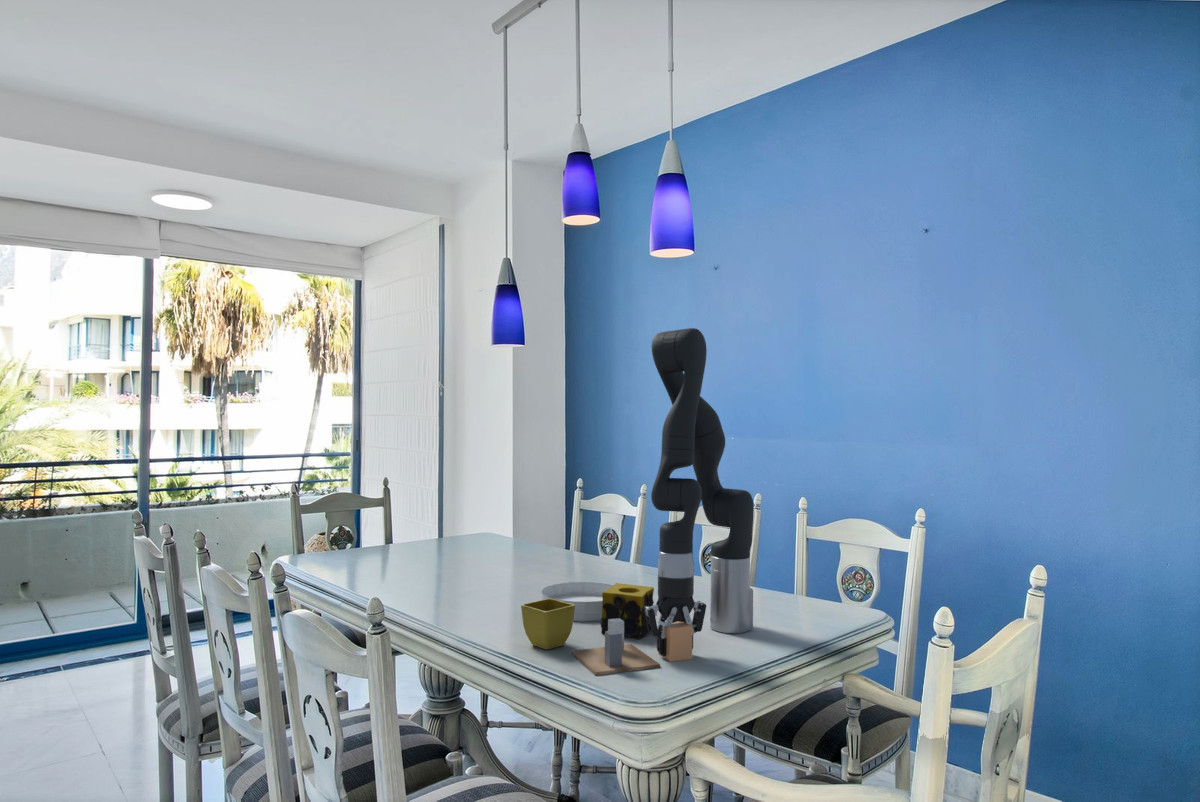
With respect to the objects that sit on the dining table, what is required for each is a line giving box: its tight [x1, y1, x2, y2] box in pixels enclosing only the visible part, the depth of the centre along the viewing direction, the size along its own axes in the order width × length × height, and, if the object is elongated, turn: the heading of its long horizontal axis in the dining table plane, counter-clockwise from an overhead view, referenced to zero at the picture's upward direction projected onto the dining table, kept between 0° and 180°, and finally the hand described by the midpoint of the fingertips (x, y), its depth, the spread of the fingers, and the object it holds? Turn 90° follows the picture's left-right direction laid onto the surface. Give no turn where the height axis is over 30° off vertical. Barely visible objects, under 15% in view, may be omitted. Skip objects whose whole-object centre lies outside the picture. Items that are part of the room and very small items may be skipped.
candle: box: [600, 582, 655, 640], centre depth 175 cm, size 10×10×10 cm
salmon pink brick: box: [657, 620, 693, 663], centre depth 157 cm, size 5×5×7 cm
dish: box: [540, 581, 614, 622], centre depth 194 cm, size 22×22×5 cm
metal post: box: [608, 618, 625, 652], centre depth 158 cm, size 3×3×6 cm
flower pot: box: [520, 598, 575, 650], centre depth 163 cm, size 9×9×9 cm
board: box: [570, 643, 661, 676], centre depth 154 cm, size 14×14×1 cm
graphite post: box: [604, 630, 622, 667], centre depth 149 cm, size 3×3×6 cm
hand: (674, 653), depth 157 cm, fingers closed on salmon pink brick, 5 cm apart
